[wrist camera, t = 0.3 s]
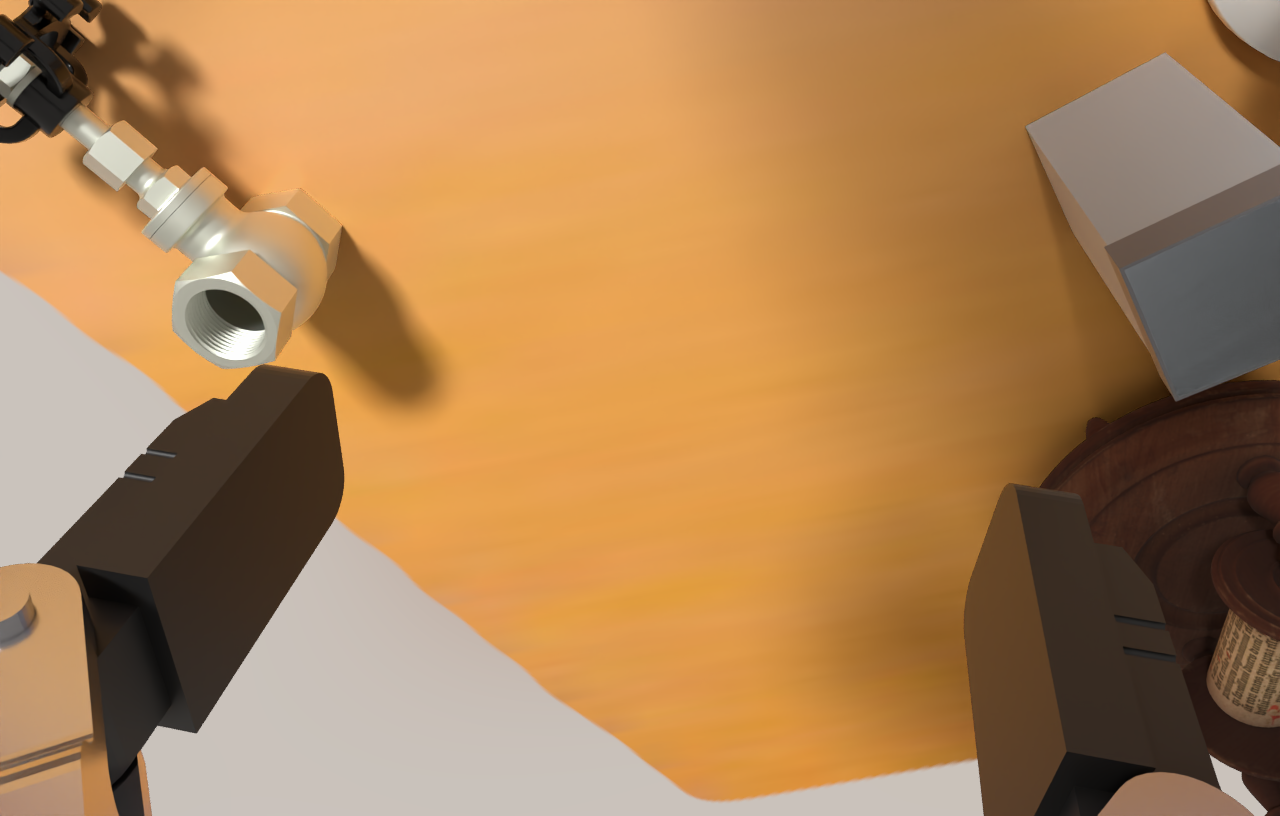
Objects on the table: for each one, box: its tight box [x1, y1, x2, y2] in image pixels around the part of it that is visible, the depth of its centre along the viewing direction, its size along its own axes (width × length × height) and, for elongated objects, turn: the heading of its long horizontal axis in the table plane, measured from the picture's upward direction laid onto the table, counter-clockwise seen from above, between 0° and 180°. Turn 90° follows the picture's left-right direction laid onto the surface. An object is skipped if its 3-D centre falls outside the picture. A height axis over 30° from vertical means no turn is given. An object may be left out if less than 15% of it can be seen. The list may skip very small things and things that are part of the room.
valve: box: [0, 0, 342, 369], centre depth 33 cm, size 7×7×12 cm
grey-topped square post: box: [1025, 52, 1280, 401], centre depth 29 cm, size 5×5×10 cm
